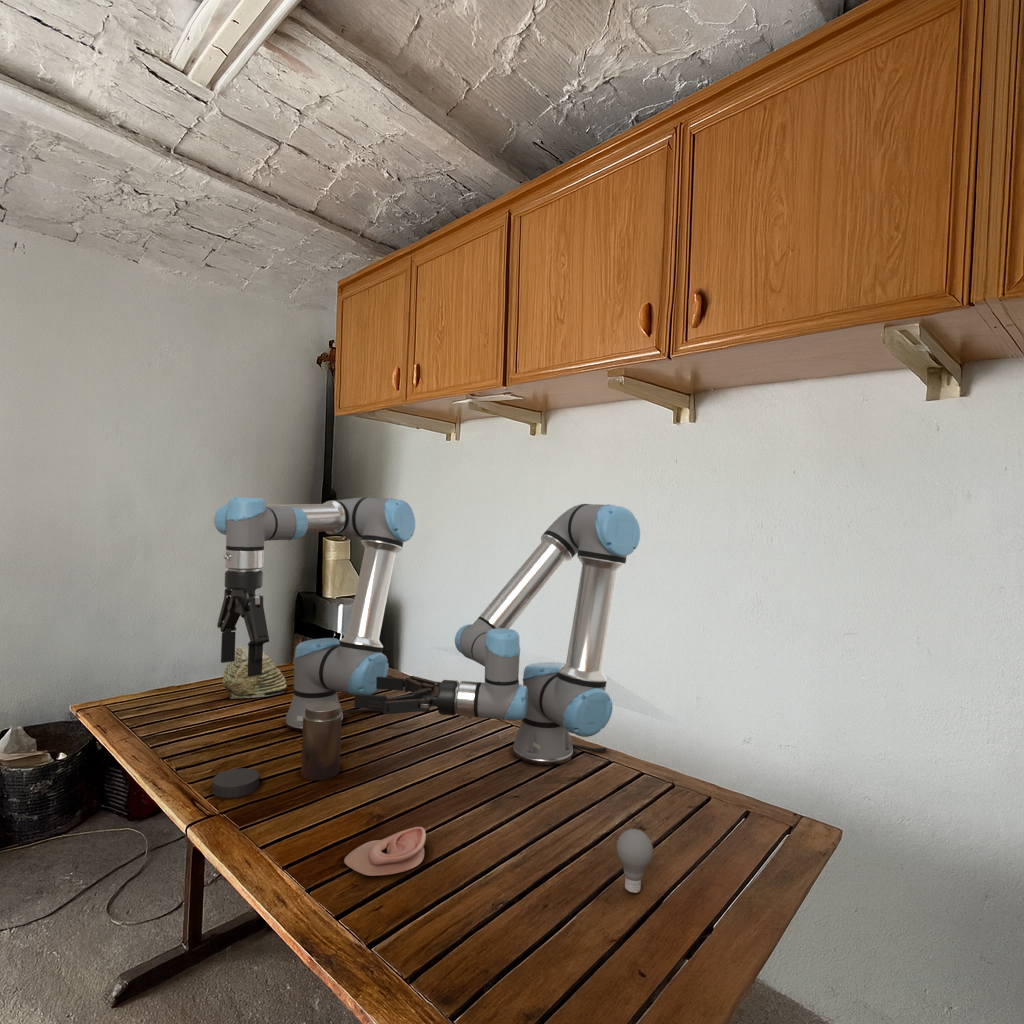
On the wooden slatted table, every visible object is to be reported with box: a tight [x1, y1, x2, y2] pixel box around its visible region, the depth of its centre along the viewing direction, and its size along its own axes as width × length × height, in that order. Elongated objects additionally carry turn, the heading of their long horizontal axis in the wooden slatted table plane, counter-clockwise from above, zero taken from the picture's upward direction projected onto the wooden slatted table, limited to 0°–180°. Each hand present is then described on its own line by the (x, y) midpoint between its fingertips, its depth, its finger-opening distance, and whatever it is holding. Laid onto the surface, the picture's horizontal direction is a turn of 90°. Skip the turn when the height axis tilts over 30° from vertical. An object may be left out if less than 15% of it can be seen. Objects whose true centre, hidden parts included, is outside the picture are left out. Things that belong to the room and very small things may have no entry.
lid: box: [211, 767, 260, 799], centre depth 136 cm, size 9×9×2 cm
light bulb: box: [615, 828, 654, 894], centre depth 106 cm, size 6×6×10 cm
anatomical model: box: [343, 826, 427, 877], centre depth 112 cm, size 13×4×12 cm
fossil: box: [222, 646, 288, 699], centre depth 198 cm, size 9×18×15 cm, turn 132°
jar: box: [300, 701, 342, 781], centre depth 145 cm, size 8×8×15 cm
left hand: (240, 668), depth 136 cm, fingers open, 13 cm apart
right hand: (366, 691), depth 144 cm, fingers open, 13 cm apart
